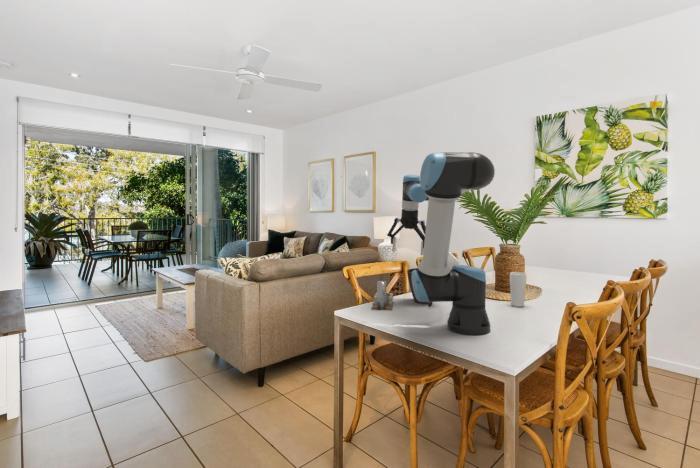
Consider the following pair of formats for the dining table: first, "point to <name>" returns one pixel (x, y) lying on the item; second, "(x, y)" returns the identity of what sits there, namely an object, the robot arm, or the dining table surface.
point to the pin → (381, 295)
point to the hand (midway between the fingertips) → (407, 252)
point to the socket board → (388, 302)
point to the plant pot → (412, 287)
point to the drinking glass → (517, 288)
